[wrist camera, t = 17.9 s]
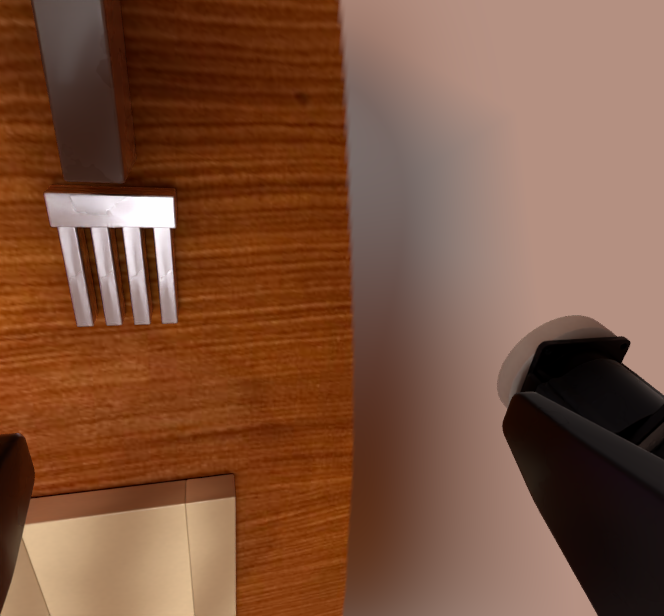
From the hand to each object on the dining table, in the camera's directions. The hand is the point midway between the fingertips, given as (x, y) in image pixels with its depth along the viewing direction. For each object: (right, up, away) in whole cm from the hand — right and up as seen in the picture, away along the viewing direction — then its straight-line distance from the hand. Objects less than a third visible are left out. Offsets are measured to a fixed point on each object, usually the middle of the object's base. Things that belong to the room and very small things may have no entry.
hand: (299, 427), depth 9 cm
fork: (-7, +9, +6) cm, 13 cm away
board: (-12, -17, +20) cm, 29 cm away
